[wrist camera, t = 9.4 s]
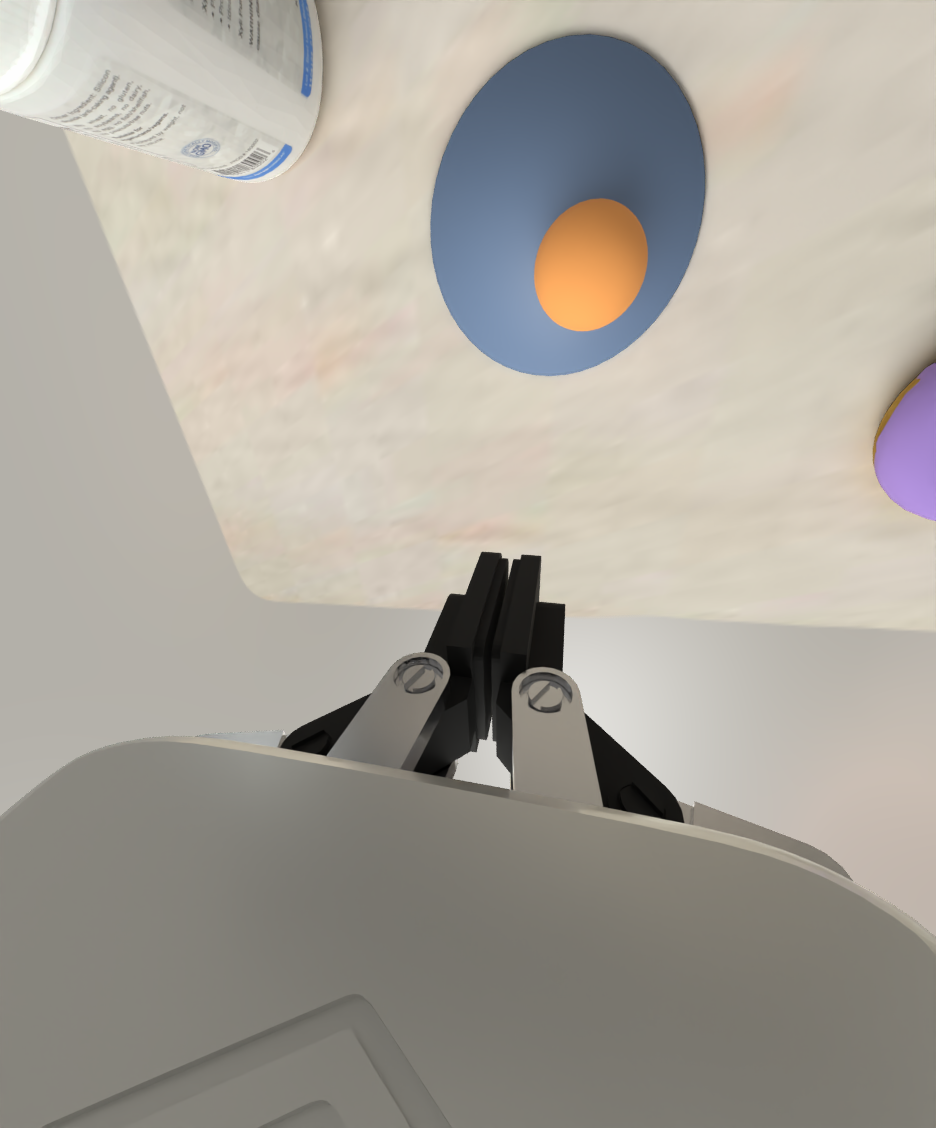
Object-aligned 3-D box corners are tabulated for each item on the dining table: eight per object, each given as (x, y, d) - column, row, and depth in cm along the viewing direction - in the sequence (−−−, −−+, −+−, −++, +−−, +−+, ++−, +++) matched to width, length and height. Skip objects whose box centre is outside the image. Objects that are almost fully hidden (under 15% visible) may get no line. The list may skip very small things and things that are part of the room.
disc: (419, 63, 19) (418, 61, 19) (740, 9, 17) (742, 6, 16) (441, 376, 26) (440, 377, 26) (671, 373, 23) (672, 374, 23)
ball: (567, 255, 16) (499, 308, 21) (650, 330, 19) (573, 364, 23) (610, 137, 17) (534, 215, 21) (687, 226, 19) (604, 279, 23)
